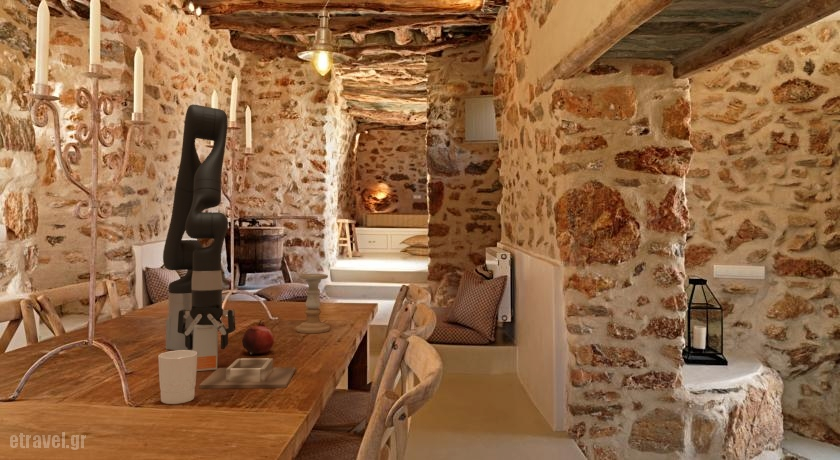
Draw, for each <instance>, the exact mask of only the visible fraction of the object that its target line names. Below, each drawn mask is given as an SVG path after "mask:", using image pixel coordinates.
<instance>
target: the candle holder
mask: <svg viewBox="0 0 840 460" xmlns="http://www.w3.org/2000/svg"><path fill="white" fill-rule="evenodd" d="M298 278H299V279H301V280H305V281H306V284H307V285H308V288H307V289H306V291H305V292H306V293H307V297H306V300H305V307H306V308H307V309H305V311H304V313H305V314H306V319H305V320H306V321H304V322H300V324H298V325H297V326H296V327H295V332H297V333H301V334H323V333H327V332H329V331H331V326H330V325H329V324H326V323H325V322H323V321H320V320H321V319H320V315H321V313H322V310H321V309H320V307H321V306H322V305H321V304H322V303H321V300H320V295H319V294H320V292H321V290H320V288H319V284H320V283H321V281H322V280H325V279H328V278H329V275H328V274H325V273H305V274H298Z"/></svg>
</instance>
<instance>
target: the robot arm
mask: <svg viewBox="0 0 840 460" xmlns="http://www.w3.org/2000/svg"><path fill="white" fill-rule="evenodd" d="M228 124H229V123H228V114H227V113H226V111H225V110H223V109H220V108H216V107H215V108H214V107H210V106H205V105H199V104H192V103H191V104H190V105H189V106H188V107H187V109H186V113H185V117H184V125H183V136H182V144H181V145H182V147H181V154H180V161H179V162H180V163H179V167H178V172H177V173H178V174H177V177H176V182H175V188H174V189H175V190H174V195H173V203H172V204H173V205H172V212H171V217H170V223H169V227H168V231H167V235H166V238H165V242H164V247H163V254H162V262H163V266H164V268H165V269H166V270H169V271H186V274H185V275H183V276H182V277H181V278H178V279H176V280H173V281H172V282H170V283H169V285H168V316H167V317H166V318H165V350H170V351H176V350H192V343H193V329H194V325H214V326H215V327H216V328H217V329H218V332H219V333H220V334H221V335H220V349H221V350H225V349H226V347H228V344H229V334H232V333H233V332H235V331H236V316H235V314H236V313H235V309H234V308H231V309H223V307H222V306H223V276H222V251H223V246H224V245H223V244H224V243H225V242H224V241H225V239H226V235H227V232H228V230H229V229H228V228H229V220H228V217H227V216H226V214H224V213H223V212H219V211H218V212H215V211H214V212H212V211H211V212H208V211H207V212H205V210H208V209H211V208H216V207H218V206H219V205H220V204H221V202H222V174H223V173H222V172H223V164H224V159H225V158H224V157H225V151H226V142H227V135H228ZM197 139H200V140H204V141H211V142H213V146H212V149H211V151H210V152H209V154H208V155H207V156H206V157H205V159H204V160H202V162H201V160H200V158H199V155H198V152H197V148H196V140H197ZM185 233H186V235H187V236H188V237H189V238H190V239H183V237H184V234H185ZM201 239H202V240H206V239H207V240H213V242H212V243H211V244H210V245H208V246H204V247H203V244H202V242H201V241H199V240H201ZM223 315H224V317H225V318H226V319H227V323H228V324H227V327H226V325H225V323H224V322H223V321H222V319H221V318H222V317H223Z"/></svg>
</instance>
